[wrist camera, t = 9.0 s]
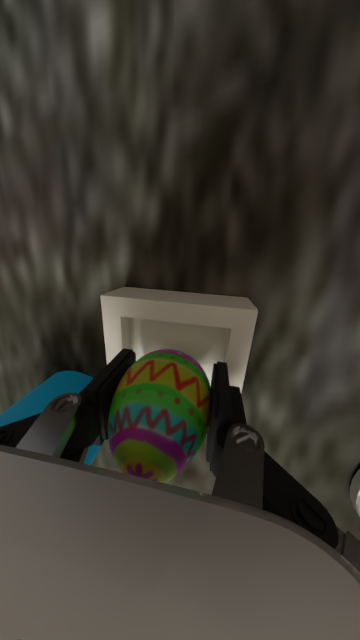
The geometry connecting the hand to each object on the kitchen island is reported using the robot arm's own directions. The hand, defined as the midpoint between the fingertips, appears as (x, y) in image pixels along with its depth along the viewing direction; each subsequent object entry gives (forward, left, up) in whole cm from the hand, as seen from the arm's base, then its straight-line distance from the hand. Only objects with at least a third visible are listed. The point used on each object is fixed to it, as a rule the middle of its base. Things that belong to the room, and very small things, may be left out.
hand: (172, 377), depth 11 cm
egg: (0, 0, -1) cm, 1 cm away
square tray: (0, 0, -4) cm, 4 cm away
